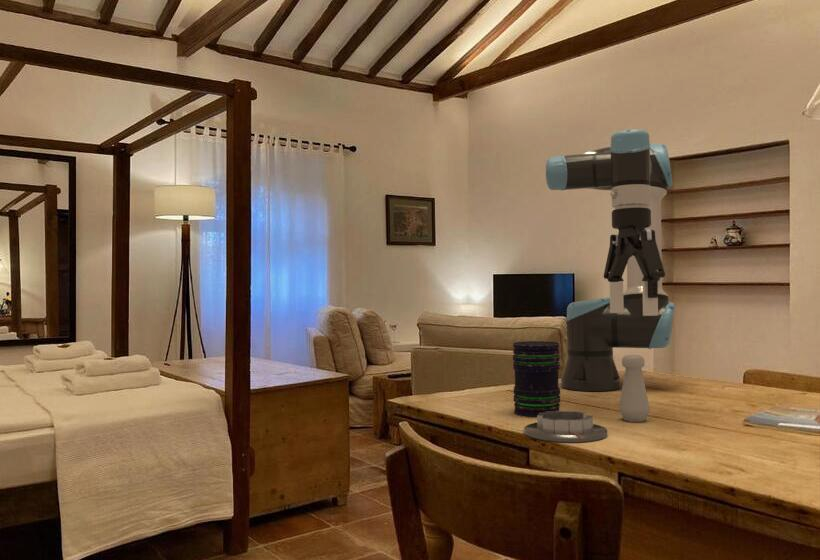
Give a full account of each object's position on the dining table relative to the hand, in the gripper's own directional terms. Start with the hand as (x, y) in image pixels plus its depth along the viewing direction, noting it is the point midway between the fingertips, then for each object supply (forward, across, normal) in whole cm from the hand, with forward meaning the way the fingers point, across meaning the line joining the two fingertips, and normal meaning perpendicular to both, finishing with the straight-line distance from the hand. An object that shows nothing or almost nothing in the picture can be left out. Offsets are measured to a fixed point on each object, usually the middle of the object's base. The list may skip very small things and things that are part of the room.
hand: (632, 314), depth 139 cm
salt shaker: (+21, 0, 0) cm, 21 cm away
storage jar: (+21, -12, -16) cm, 29 cm away
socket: (+21, +8, -18) cm, 29 cm away
